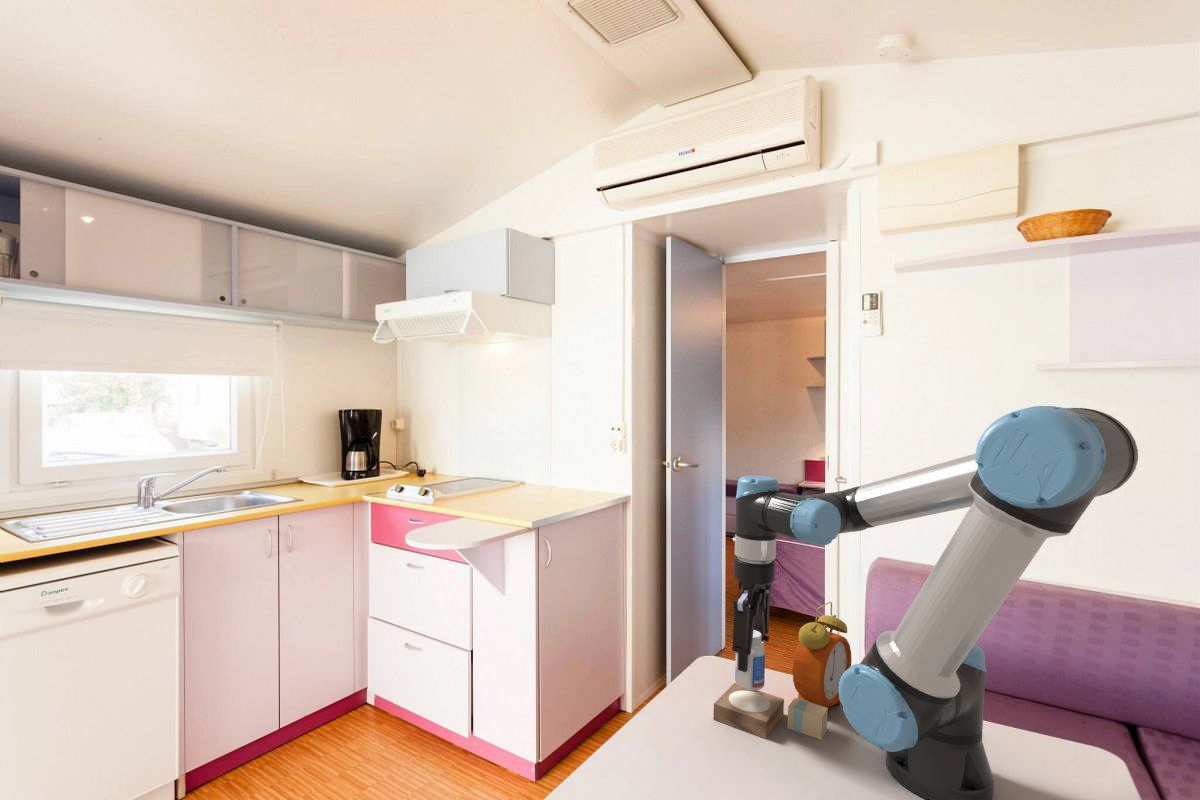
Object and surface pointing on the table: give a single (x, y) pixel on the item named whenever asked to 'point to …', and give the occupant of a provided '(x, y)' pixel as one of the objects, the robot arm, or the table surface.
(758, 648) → the pill bottle
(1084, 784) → the table surface
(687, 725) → the table surface
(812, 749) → the table surface
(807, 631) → the alarm clock
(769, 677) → the table surface
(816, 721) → the carton
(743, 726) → the podium
